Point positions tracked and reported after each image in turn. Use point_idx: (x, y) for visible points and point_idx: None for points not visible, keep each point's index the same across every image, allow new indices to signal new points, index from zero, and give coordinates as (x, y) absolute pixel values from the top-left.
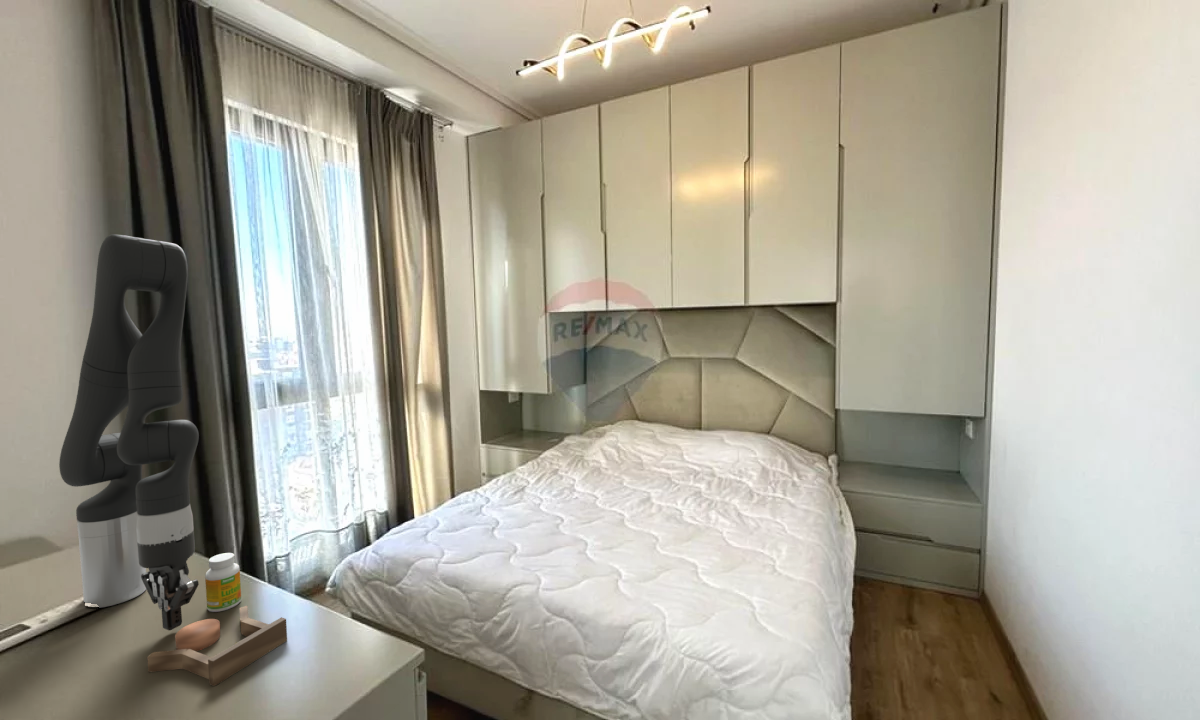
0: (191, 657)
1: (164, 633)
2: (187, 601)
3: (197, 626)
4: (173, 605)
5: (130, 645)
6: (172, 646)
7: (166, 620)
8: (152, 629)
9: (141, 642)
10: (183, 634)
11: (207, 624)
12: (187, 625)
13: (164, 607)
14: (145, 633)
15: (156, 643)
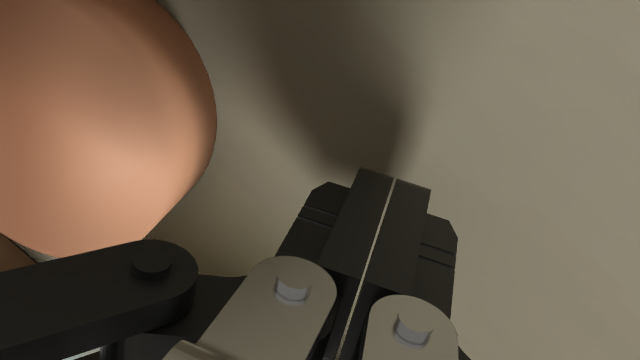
0: None
1: (452, 181)
2: (88, 356)
3: (73, 169)
4: (101, 272)
5: (613, 11)
6: (223, 35)
7: (352, 211)
8: (614, 228)
9: (543, 60)
10: (61, 62)
11: (34, 195)
12: (162, 180)
13: (301, 287)
14: (629, 178)
15: (390, 58)
